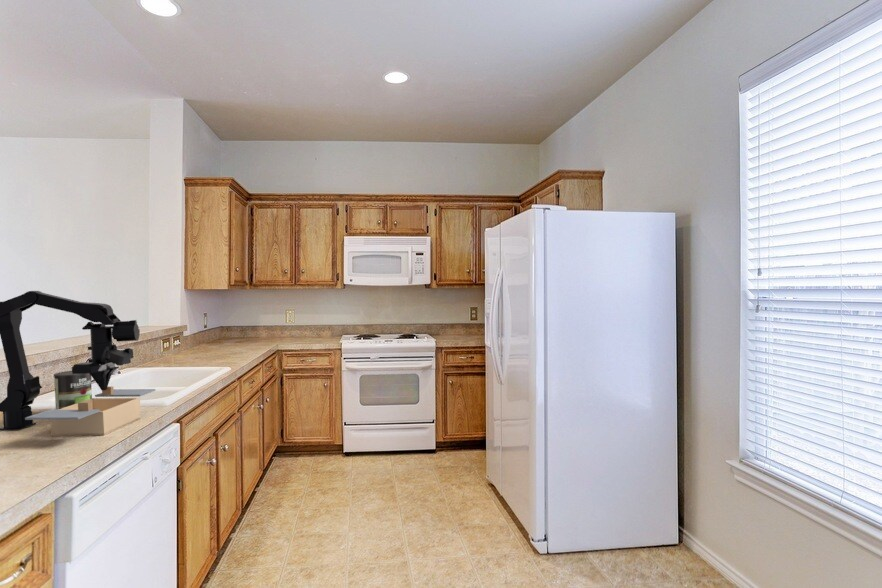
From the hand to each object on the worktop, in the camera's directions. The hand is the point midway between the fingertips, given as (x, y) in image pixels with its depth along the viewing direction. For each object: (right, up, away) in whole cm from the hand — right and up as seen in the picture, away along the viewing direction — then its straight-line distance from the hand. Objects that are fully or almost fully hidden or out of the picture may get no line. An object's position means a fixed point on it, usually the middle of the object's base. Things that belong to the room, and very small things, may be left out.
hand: (104, 390), depth 157 cm
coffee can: (-17, -10, +9) cm, 21 cm away
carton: (+4, -10, -8) cm, 13 cm away
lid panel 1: (+3, -3, -21) cm, 21 cm away
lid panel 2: (+4, -2, +5) cm, 7 cm away
